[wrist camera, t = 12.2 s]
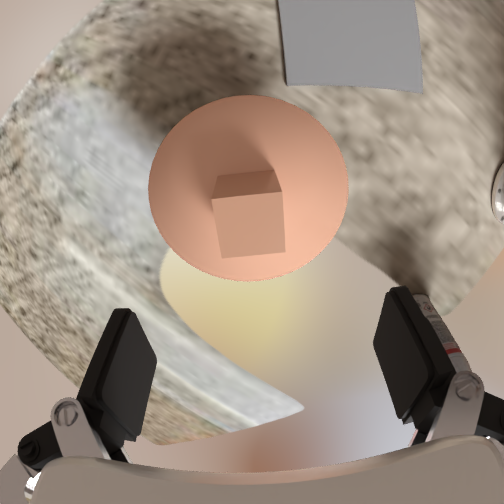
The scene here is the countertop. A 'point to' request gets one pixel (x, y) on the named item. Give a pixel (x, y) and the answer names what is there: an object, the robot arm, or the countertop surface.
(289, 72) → the mat
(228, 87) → the countertop surface
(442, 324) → the spray can
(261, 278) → the lid
